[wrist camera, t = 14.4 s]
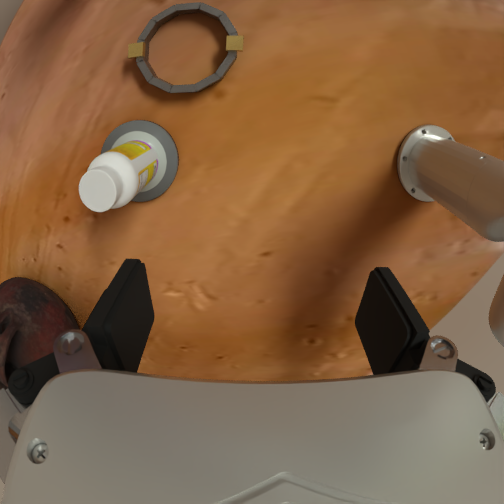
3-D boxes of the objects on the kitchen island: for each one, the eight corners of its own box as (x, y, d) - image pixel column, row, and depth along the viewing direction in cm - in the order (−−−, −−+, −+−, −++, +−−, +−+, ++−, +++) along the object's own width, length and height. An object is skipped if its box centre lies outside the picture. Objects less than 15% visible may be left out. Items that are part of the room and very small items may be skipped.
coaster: (178, 117, 35) (176, 117, 34) (180, 199, 41) (178, 201, 40) (100, 124, 35) (97, 125, 34) (107, 200, 41) (104, 202, 40)
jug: (107, 302, 51) (56, 408, 29) (85, 361, 61) (53, 441, 39) (13, 240, 44) (-61, 317, 22) (10, 312, 54) (-35, 380, 32)
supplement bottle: (110, 150, 36) (61, 175, 25) (149, 131, 35) (108, 148, 24) (128, 190, 39) (87, 229, 28) (167, 174, 38) (135, 208, 27)
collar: (245, 6, 27) (245, -1, 25) (241, 92, 34) (240, 91, 31) (139, 14, 27) (132, 8, 24) (135, 96, 33) (127, 96, 30)
